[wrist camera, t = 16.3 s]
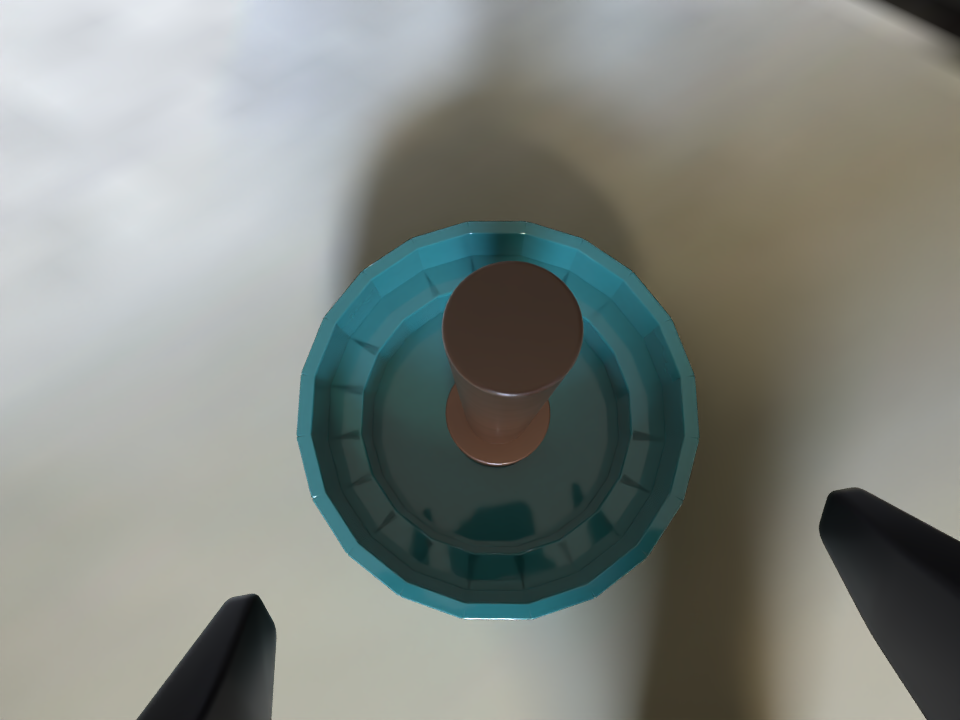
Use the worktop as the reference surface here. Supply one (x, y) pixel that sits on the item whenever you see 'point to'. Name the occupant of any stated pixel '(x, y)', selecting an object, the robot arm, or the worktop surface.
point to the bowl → (482, 489)
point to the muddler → (507, 358)
